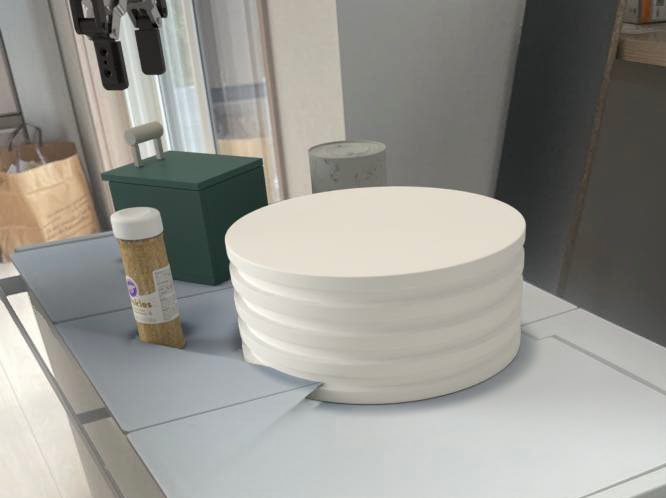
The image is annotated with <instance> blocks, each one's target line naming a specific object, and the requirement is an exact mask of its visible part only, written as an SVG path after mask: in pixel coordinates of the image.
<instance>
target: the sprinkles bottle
mask: <svg viewBox="0 0 666 498" xmlns="http://www.w3.org/2000/svg"><path fill="white" fill-rule="evenodd" d="M110 223H111V228H112V233H113V236H114V237H115V239H116V242H117V243H118V248H119V252H120V256H121V261H122V265H123V269H124V273H125V281H126V285H127V290H128V294H129V299H130V302H131V307H132V312H133V316H134V319H135V321H136V325H137V326H136V327H137V330H138V336H139V339H140V342H143V343H148V344H152V345H157V346H163V347H169V348H173V349H178V350H181V349H183V348H184V347H185V345H186V339H185V337H184V333H183V329H182V323H181V318H180V310H179V309H180V308H179V303H178V300H177V294H176V290H175V286H174V285H175V284H174V279H172V275H171V270H170V265H169V262H168V258H167V254H166V248H165V244H164V240H163V233H162V232H163V224H162V220H161V216H160V212H159V211H158V210H157V209H154V208H150V207H134V208H127V209H123V210H120V211H117V212H115V211H114V213H112V214H111V215H110Z"/></svg>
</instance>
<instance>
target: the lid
mask: <svg viewBox="0 0 666 498" xmlns="http://www.w3.org/2000/svg"><path fill="white" fill-rule="evenodd" d="M164 132H165V131H164V126H163V125H162V123H161V122H160V121H158V120H154V121H150V122H147V123H143V124H140V125H136V126H133V127H129V128H126V129H124V132H123V138H124V140H125V142H126V143H127V144H128V145H129V146H130V149H131V154H132V159H133V161H132V162H131V163H128V164H125V165H121V166H119V167H116V168H113V169H110V170H106V171H104V172H101V173H100V178H101V181H102V182H103V181H104V182H109V181H112V182H122V183H131V184H141V185H150V186H160V187H169V188H179V189H188V190H198V191H199V190H202V189H204V188H207V187H209V186H212V185H214V184H217V183H219V182H222V181H224V180H227V179H229V178H232V177H234V176H237V175H239V174H242V173H244V172H247V171H249V170H252V169H254V168H257V167H259V166H264V161H263V160H264V159H263V157H256V156H255V157H254V156H245V155H244V156H242V155H231V154H218V153H207V152H195V151H194V152H192V151H181V150H171V149H170V150H167V151H164V147H163V142H162V137H163V135H164ZM149 141H152V142H153V146H154V151H155V154H154V155H152V156H148V157H146V158H143V159H142V155H141V154H142V153H141V150H140V144H142V143H145V142H149Z"/></svg>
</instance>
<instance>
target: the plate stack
mask: <svg viewBox="0 0 666 498" xmlns="http://www.w3.org/2000/svg"><path fill="white" fill-rule="evenodd" d="M526 230H527V224H526V219H525V217H524V216H523V214H522V213H521V212H520V211H519V210H518V209H516V208H515V207H513V206H511V204H508V203H506V202H504V201H501V200H498V199H496V198H493V197H490V196H486V195H483V194H480V193H479V194H478V193H474V192H469V191H464V190H457V189H450V188H440V187H429V186H428V187H427V186H404V185H403V186H398V185H397V186H393V185H392V186H387V187H367V188H354V189H344V190H335V191H328V192H321V193H316V194H312V193H310V194H306V195H301V196H295V197H293V198H289V199H285V200H284V199H283V200H281V201H277V202H274V203H271V204H268V206H265V207H262V208H260V209H258V210H255V211H253V212H251V213H249V214H247V215H245V216H244V217H242V218H240V219H239V220H237V221H236V222H235V223H234V224H233V225H232V226H231V227H230V228H229V229H228V231H227V233H226V235H225V244H226V250H227V255H228V258H229V260H230V266H229V268H230V275H231V278H230V280H231V284H232V287H233V298H234V305H235V309H236V313H237V323H238V330H239V334H240V338H241V347H242V355H243V359H244V362H245V363H248V364H253V365H258V366H263V367H267V368H268V367H269V368H273V369H275V370H277V371H278V372H282V373H284V374H286V375H289V376H292V377H296V378H299V379H303V380H307V381H312V382H318V383H321V384H319V386H317V387H316V388H314V389H313V390H312V391H311V392H309V394H307V395H306V396H305V397H304V398H306V399H310V400H315V401H320V402H328V403H337V404H350V405H353V404H354V405H383V404H384V405H385V404H387V405H388V404H398V403H399V404H401V403H408V402H415V401H422V400H428V399H432V398H438V397H441V396H446V395H449V394H453V393H457V392H459V391H463V390H466V389H468V388H470V387H473V386H476V385H478V384H480V383H483V382H485V381H487V380H489V379H491V378H492V377H494V376H495V375H497V374H499V373H500V372H501V371H503V370H504V369H505V368H506V367H507V366H509V364H511V362H512V361H513V360H514V359H515V357H516V356H517V354H518V352H519V350H520V347H521V337H522V336H521V335H522V328H521V324H522V323H521V322H522V315H523V302H522V298H523V293H524V275H523V272H524V268H525V248H524V245H525V241H526Z"/></svg>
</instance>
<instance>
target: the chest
mask: <svg viewBox="0 0 666 498" xmlns="http://www.w3.org/2000/svg"><path fill="white" fill-rule="evenodd" d="M265 175H266V174H265V168H264V165H262V166H259V167H257V168H254V169H252V170H249V171H247V172H244V173H242V174H239V175H237V176H234V177H232V178H229V179H227V180H224V181H222V182H219V183H217V184H214V185H212V186H209V187H207V188H204V189H202V190H199V191H198V190H188V189H179V188H169V187H160V186H150V185H141V184H131V183H122V182H112V181H107V183H108V188H109V192H110V196H111V201H112V205H113V210H114V213H115V212H117V211H120V210H123V209H127V208H134V207H150V208H154V209H157V210H158V211H159V212H160V216H161V220H162V224H163V232H162V233H163V240H164V244H165V248H166V254H167V258H168V262H169V265H170V270H171V275H172V279H173V280H177V281H183V282H189V283H195V284H202V285H207V286H215V287H216V286H218V285H220V284H222V283H224V282H225V281H227V280H229V279H231V275H230V268H229V266H230V260H229V258H228V255H227V250H226V244H225V235H226V233H227V231H228V229H229V228H230V227H231V226H232V225H233V224H234V223H235V222H236V221H237V220H239V219H240V218H242V217H244V216H245V215H247V214H249V213H251V212H253V211H255V210H258V209H260V208H262V207H265V206H268V205H269V200H268V199H269V198H268V191H267V185H266V176H265Z"/></svg>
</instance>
